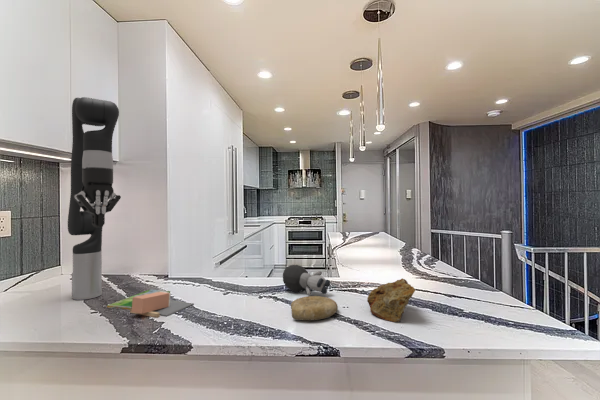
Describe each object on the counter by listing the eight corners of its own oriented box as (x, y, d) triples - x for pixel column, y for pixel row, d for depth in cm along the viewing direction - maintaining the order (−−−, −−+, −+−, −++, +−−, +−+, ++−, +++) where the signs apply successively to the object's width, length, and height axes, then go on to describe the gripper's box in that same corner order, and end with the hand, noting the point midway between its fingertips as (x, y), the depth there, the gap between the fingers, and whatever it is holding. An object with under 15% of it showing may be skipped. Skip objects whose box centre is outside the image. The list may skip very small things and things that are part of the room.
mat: (131, 310, 102) (131, 308, 102) (160, 299, 113) (160, 298, 113) (166, 316, 95) (166, 315, 95) (193, 304, 106) (193, 303, 106)
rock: (375, 306, 108) (355, 290, 106) (403, 275, 107) (383, 258, 105) (397, 340, 89) (372, 321, 87) (431, 302, 88) (407, 283, 86)
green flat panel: (106, 309, 105) (130, 311, 102) (106, 304, 105) (130, 307, 102) (149, 292, 124) (170, 294, 122) (149, 289, 124) (170, 290, 122)
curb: (130, 312, 99) (130, 309, 99) (132, 311, 100) (132, 308, 100) (157, 317, 94) (157, 313, 94) (159, 316, 95) (159, 312, 95)
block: (132, 297, 96) (160, 291, 106) (131, 311, 95) (159, 304, 105) (142, 298, 94) (170, 292, 104) (141, 313, 94) (169, 306, 104)
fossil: (342, 323, 89) (342, 307, 89) (292, 325, 88) (292, 309, 88) (332, 303, 106) (332, 290, 106) (290, 305, 105) (289, 292, 105)
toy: (337, 284, 121) (296, 272, 132) (329, 268, 113) (286, 256, 124) (326, 308, 115) (284, 294, 126) (317, 293, 108) (273, 279, 119)
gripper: (111, 170, 96) (111, 225, 96) (65, 165, 84) (65, 228, 83) (127, 169, 93) (127, 225, 93) (82, 164, 81) (82, 229, 80)
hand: (98, 227), depth 88 cm, fingers closed
